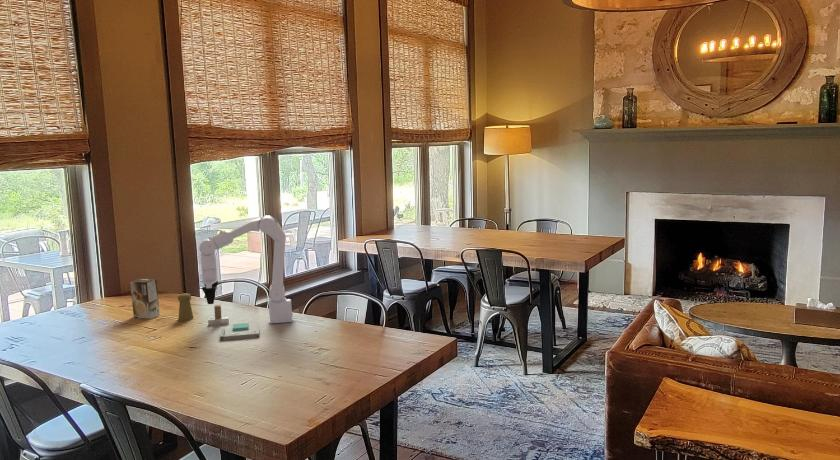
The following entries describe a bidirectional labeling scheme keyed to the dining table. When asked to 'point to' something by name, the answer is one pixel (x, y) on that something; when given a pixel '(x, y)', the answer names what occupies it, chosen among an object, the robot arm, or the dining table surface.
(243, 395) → the dining table surface
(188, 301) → the cork
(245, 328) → the tile
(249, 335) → the frame
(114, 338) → the dining table surface
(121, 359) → the dining table surface
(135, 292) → the coffee box
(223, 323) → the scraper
